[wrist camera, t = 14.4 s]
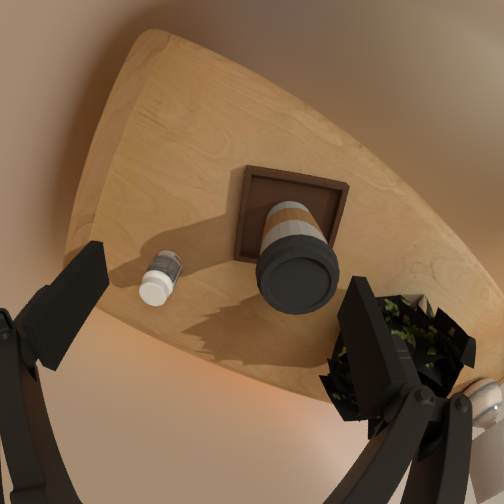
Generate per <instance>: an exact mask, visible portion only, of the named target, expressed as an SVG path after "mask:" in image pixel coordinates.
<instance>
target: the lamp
mask: <svg viewBox="0 0 504 504" xmlns="http://www.w3.org/2000/svg"><path fill="white" fill-rule="evenodd" d="M463 394H465V395H466V396H467V397H468V398H469V399H470V401H471V403H472V407H473V421H472V426H474V427H482V428H484V429H485V432H483V433H482V434H480V435H479V436H478V437H477V438H475V439H474V440H472V446H471V458H470V468H469V473H470V477H471V481H472V484H473V488H474V493H475V497H476V502H477V504H480V503H482V502H484V501H486V500H488V499H490V498H491V497H493V496H495V495H497V494H498V493H500V492H502V491H504V419H503V420H501V421H499V422H498V423H496V422H495V419H496V417H497V415H498V412H499V409H500V406H501V402H502V392H501V388H500V385H499V384H498V382H497V381H495V380H494V379H492V378H484V379H481V380H478V381H476V382H475V383H473V384H472V385H470V386H469V387H468V388H467V389H466V390H465V391H464V392H463Z"/></svg>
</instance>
